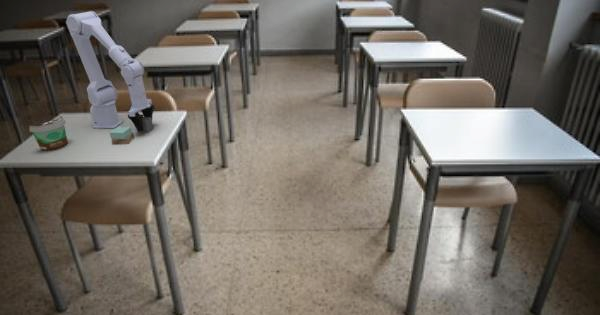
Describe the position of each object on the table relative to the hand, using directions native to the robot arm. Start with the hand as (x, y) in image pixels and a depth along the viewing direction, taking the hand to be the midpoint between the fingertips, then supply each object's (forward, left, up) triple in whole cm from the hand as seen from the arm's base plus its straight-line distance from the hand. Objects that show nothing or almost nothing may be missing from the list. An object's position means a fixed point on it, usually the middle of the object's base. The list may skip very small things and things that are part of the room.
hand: (144, 127), depth 164 cm
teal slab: (-4, -10, +1) cm, 11 cm away
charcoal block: (0, 0, -2) cm, 2 cm away
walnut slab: (-4, -10, -2) cm, 11 cm away
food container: (-26, -17, -2) cm, 31 cm away
